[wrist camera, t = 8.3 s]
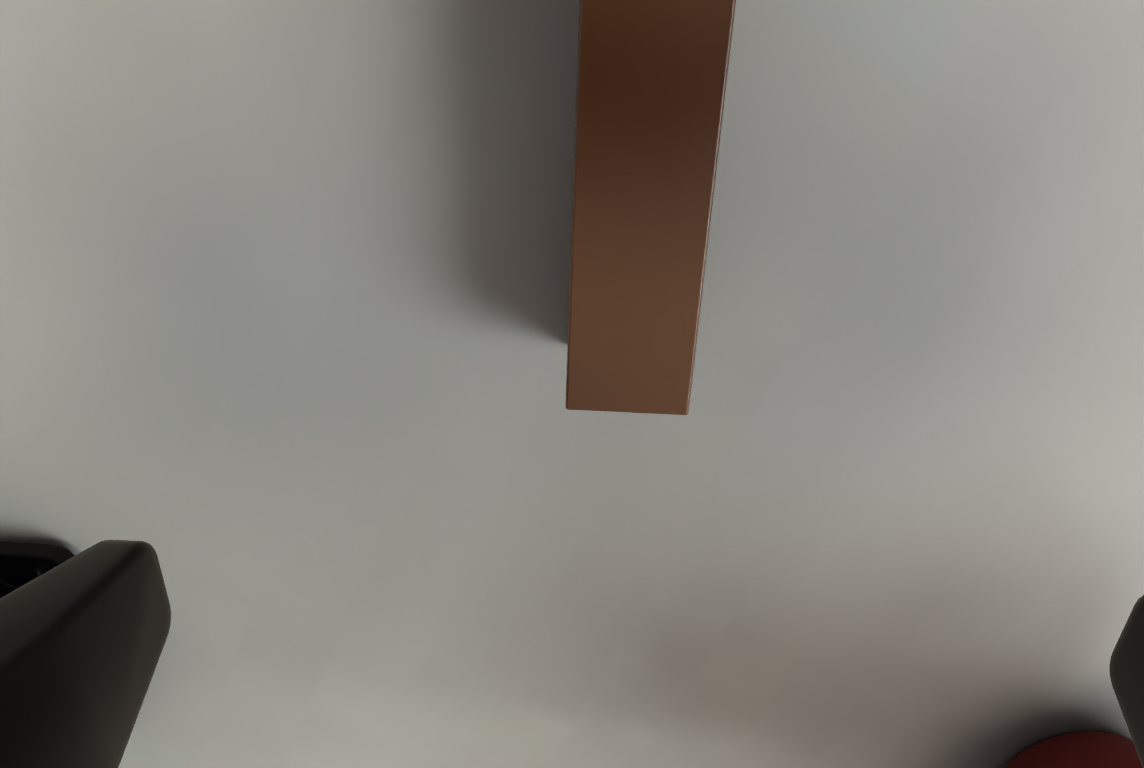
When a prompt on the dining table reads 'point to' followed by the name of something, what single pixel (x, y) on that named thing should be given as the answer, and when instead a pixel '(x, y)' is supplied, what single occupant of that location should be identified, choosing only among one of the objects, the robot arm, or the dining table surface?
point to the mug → (1079, 752)
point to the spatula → (643, 197)
